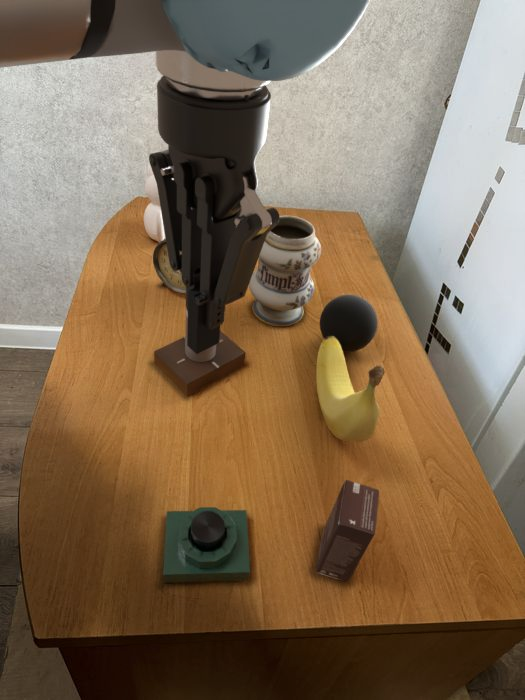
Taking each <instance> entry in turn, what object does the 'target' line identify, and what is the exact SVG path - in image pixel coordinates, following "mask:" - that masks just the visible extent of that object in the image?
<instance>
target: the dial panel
mask: <svg viewBox="0 0 525 700" xmlns="http://www.w3.org/2000/svg"><path fill="white" fill-rule="evenodd" d="M246 356H247V352H246V351H245V350H244V349H243V348H241V347H240V346H239V345H238V344H237V343H236V342H234V341H233V339H231V338H230V337H229V336H227V335H226V334H225V333H224V332H223V331H222V330H220V338H219V343H218V344H216V354H215V356H214V357H213V358H212V359H211V360H209V361H206V362H196V361H193V360H191V359H189V358H188V357H187V355H186V353H185V334H184V335H182V337H180V338H178V339H176V340H175V341H172V342H170V343H168V344H166V345H163V346H162V347H160V348H158V349H156V350H154V351H153V358H154V359H153V360H154V365H155V367H157V369H158V370H159V371H161V373H162V374H163V375H165V376H166V377H167V379H169V380H170V381H171V383H173V384H174V385H175V386H176V388H178V389H179V390H180V391H181V393H183V394H184V395H185V396H186V397H190V396H192V395H193V394H195V393H196V392H199V391H200V390H202V389H204V388H206V387H207V386H209V385H211V384H213V383H215V382H217V381H218V380H220V379H222V378H224V377H226V376H227V375H229V374H231V373H233V372H235V371H236V370H238V369H240V368H242V367H243V366H245V363H246Z"/></svg>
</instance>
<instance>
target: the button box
mask: <svg viewBox="0 0 525 700" xmlns="http://www.w3.org/2000/svg"><path fill="white" fill-rule="evenodd" d="M204 511H213V512H216V513H218V514H219V515H220V516H221V517H222V518H223V520H224V522H225V535H224V540H223V542H222V543H221V545H220V546H219V547H217V548H216V549H214V550H210V551H204V550H201V549H199V548H197V547H196V546H195V545H194V544H193V543H192V540H191V523H192V520H193V519H194V517H195V516H196V515H198V514H199V513H201V512H204ZM247 513H248V512H247V510H246V509H235V510H232V509H231V510H230V509H227V510H226V509H225V510H223V509H220V508H219V507H216V506H200V507H197V508H195V509H194V510H167V511H166V515H165V517H166V519H165V534H164V535H165V536H164V551H163V554H164V555H163V569H162V581H163V582H162V583H163V584H167V583H168V584H169V583H171V584H172V583H198V582H199V583H200V582H201V583H202V582H205V583H206V582H230V581H231V582H236V581H249V579H250V575H251V562H250V561H251V560H250V548H249V547H250V546H249V545H250V544H249V532H248V530H249V528H248V516H247V515H248V514H247Z"/></svg>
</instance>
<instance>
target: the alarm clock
mask: <svg viewBox="0 0 525 700" xmlns="http://www.w3.org/2000/svg"><path fill="white" fill-rule="evenodd" d="M152 253H153V254H152V264H153V267H154V270H155V273H156V275H157V276H158V278H159V279H160V280H161V282H162V283H161V286H162V287H165V286H166V287H168V288H169V289H170V290H172V291H174V292H176V293H178V294H183V295H186V286H185V285H184V284H183V282H182V273H181V272H180V271H179V270H177V271H174V270H173V269H172V268H171V266H170V263H169V257H168V251H167V244H166V239H164V240H163V241H161V242H160V243H159V242H157V245H155V247H154V249H153V252H152ZM180 254H182V251H180Z"/></svg>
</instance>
